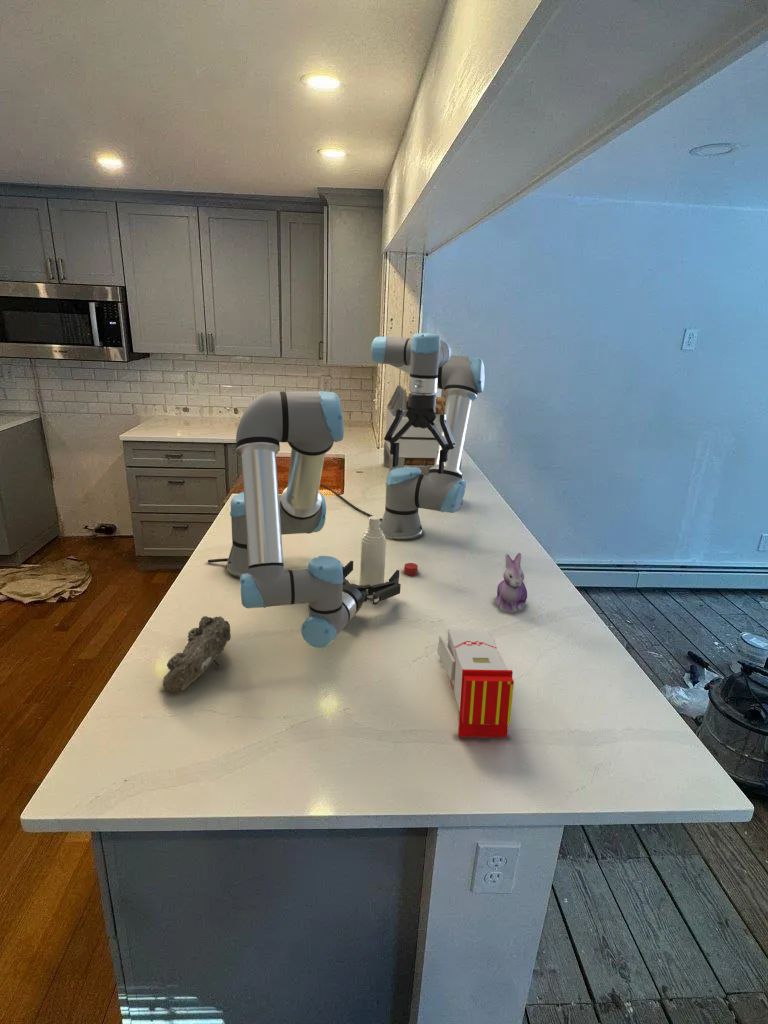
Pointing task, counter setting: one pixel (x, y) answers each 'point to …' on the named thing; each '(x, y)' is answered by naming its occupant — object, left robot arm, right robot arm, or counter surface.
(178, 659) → the fossil
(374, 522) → the bottle
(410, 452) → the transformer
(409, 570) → the cap
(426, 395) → the right robot arm
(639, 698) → the counter surface
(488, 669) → the toy
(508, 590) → the figurine
